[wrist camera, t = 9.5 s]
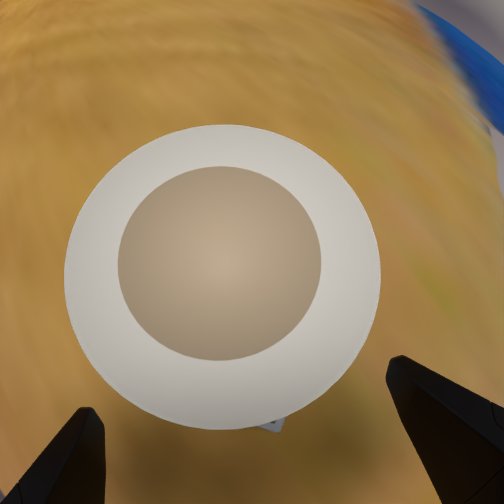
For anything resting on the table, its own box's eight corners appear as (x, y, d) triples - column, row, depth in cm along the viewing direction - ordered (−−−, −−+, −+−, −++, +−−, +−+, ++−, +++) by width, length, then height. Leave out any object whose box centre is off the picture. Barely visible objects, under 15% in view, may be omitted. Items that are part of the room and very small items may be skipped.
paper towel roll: (238, 400, 17) (243, 494, 4) (164, 338, 18) (16, 270, 5) (297, 327, 19) (428, 235, 6) (225, 269, 20) (208, 88, 7)
